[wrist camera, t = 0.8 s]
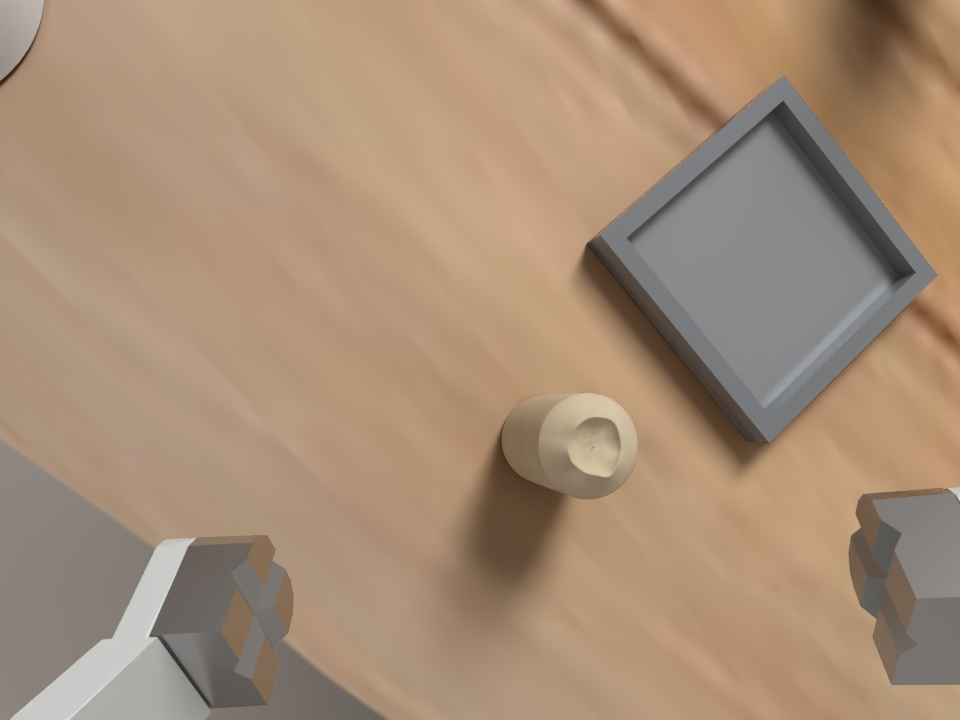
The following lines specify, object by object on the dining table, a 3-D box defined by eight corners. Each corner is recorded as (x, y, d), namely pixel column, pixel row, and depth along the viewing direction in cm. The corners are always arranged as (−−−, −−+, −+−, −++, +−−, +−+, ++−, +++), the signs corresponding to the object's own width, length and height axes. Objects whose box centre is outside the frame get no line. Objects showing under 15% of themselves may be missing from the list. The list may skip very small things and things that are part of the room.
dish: (586, 243, 50) (600, 235, 47) (762, 90, 53) (784, 75, 51) (748, 441, 51) (769, 443, 49) (909, 280, 54) (937, 275, 52)
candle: (594, 469, 49) (661, 485, 39) (512, 493, 48) (561, 516, 38) (572, 385, 49) (634, 380, 39) (490, 407, 48) (533, 408, 38)
